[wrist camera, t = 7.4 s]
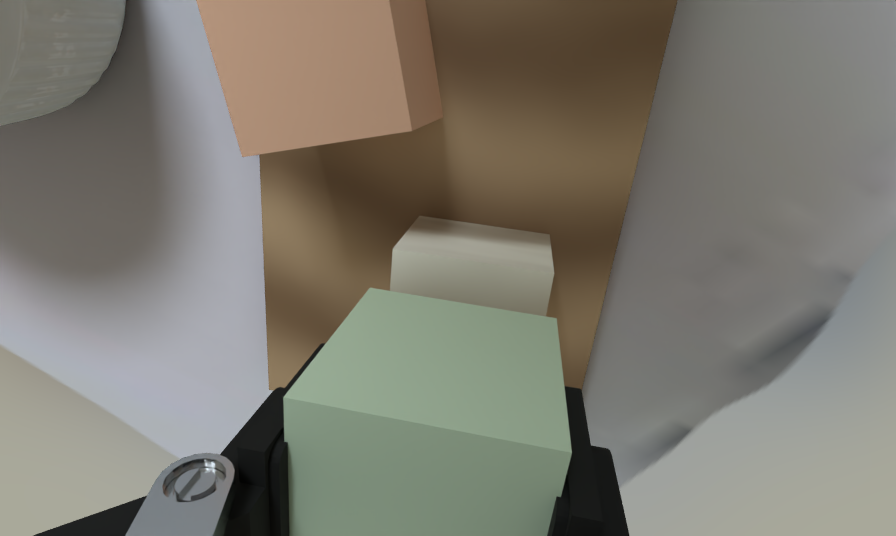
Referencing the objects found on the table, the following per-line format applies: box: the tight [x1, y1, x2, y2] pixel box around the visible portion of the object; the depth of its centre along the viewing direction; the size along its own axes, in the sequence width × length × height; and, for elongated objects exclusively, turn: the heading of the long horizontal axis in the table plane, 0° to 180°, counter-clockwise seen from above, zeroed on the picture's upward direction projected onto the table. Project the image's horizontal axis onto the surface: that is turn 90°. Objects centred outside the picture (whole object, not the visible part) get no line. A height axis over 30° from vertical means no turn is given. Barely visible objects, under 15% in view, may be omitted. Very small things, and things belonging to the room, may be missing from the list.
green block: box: [283, 288, 572, 536], centre depth 12 cm, size 5×5×5 cm
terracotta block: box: [196, 0, 443, 157], centre depth 15 cm, size 5×5×5 cm
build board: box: [259, 0, 677, 391], centre depth 17 cm, size 20×14×5 cm
